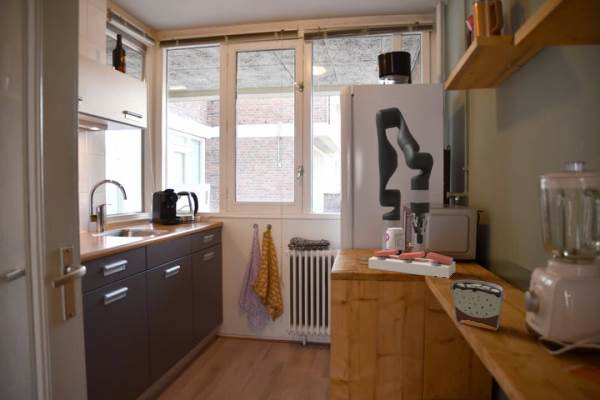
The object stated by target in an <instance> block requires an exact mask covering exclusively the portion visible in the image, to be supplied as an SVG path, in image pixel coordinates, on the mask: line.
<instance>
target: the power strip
mask: <svg viewBox="0 0 600 400" xmlns="http://www.w3.org/2000/svg"><path fill="white" fill-rule="evenodd" d="M356 260H357V262H358V261H359V262H368V269H371V270H380V271H387V272H388V271H389V272H394V273H395V272H397V273H401V274H402V273H403V274H409V275H410V274H411V275H420V276H427V277H434V276H437V277H436V278H442V277H446V278H445V279H450V278H451V277H452V276H453V275H454V274H455V273H456V261H453V262H452V263H451V264H450V265H449V264H445V263H441V262H438V261H434V260H430V259H427V258H422V257H421V258H411V259H399V256H391V255H389V256H377V257H374V256H372V257H369V258H363V257H362V258H361V257H357V258H356ZM453 273H454V274H453ZM452 274H453V275H452ZM451 275H452V276H451ZM450 276H451V277H450ZM449 277H450V278H449Z"/></svg>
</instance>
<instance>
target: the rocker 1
mask: <svg viewBox="0 0 600 400" xmlns="http://www.w3.org/2000/svg"><path fill="white" fill-rule="evenodd" d="M398 253H399V250H398V249H395V250H383V251H382V250H378V251H376V252H373V257H377V256H389V255H395V254H398Z"/></svg>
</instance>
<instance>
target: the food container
mask: <svg viewBox="0 0 600 400" xmlns="http://www.w3.org/2000/svg"><path fill="white" fill-rule="evenodd" d="M449 290H450V291H452V298H453V308H454V316H455V318H454V319H455V323H458V324H461V323H460V321H461V320H470V321H474V322H477V323H483V324H486V325H489V326H492V327H495V328H498V327H499V326H500V319H501V313H502V312H501V311H502V309H501V308H502V304H503V303H502V302H503V300H506V295H505V291H504V289H503V287H502V286H501V285H498V284H496V283H492V282H487V281H481V280H473V279H460V280H459V279H458V280H454V281H451V284H450V286H449ZM498 329H499V328H498Z"/></svg>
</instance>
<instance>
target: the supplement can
mask: <svg viewBox="0 0 600 400" xmlns="http://www.w3.org/2000/svg"><path fill="white" fill-rule="evenodd" d="M395 249H398V250H399V253H398V254H395V255H391V256H399V255H401V254H403V253H405V230H404V228H402V227H401V228H388V229H387V231H386V250H395Z"/></svg>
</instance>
